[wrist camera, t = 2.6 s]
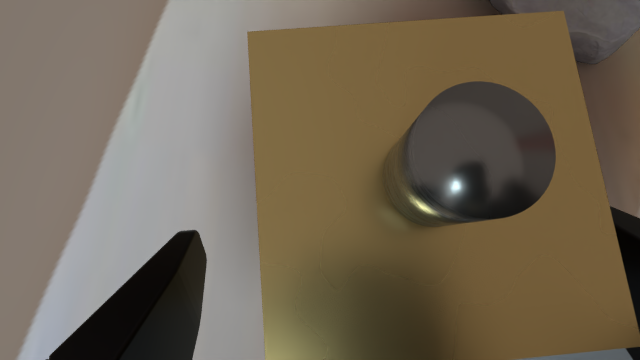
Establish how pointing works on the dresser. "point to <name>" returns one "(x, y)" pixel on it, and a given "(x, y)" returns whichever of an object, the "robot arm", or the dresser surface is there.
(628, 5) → the stone block
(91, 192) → the dresser surface
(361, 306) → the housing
